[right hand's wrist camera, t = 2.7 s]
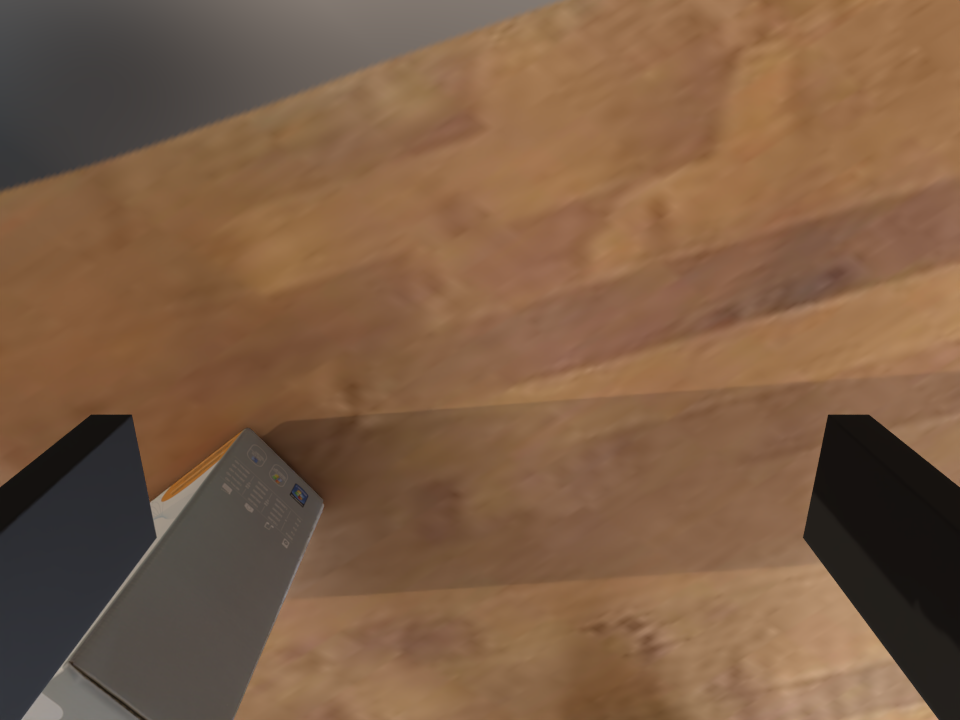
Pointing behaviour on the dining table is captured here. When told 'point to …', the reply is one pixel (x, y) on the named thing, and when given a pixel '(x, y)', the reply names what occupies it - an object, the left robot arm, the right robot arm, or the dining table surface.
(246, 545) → the hard drive box
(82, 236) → the dining table surface
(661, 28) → the dining table surface
